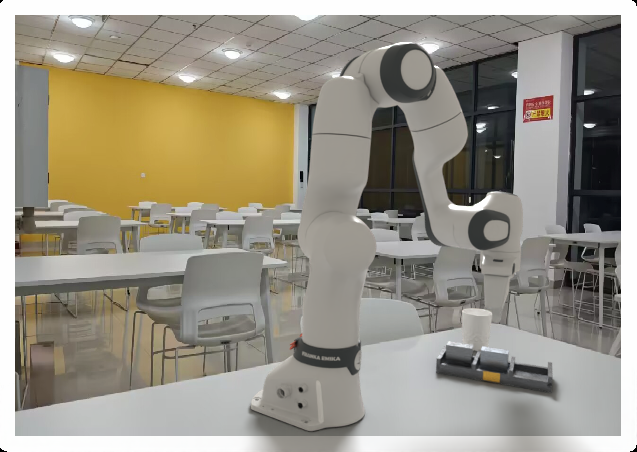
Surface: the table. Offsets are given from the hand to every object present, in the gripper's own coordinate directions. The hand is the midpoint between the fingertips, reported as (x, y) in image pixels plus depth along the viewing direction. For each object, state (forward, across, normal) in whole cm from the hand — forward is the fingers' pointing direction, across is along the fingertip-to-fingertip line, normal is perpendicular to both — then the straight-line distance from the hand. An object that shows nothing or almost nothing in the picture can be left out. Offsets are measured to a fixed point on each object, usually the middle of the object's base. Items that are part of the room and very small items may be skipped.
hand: (496, 320), depth 119 cm
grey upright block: (+12, 0, 0) cm, 12 cm away
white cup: (+13, -19, -6) cm, 24 cm away
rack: (+13, 0, 0) cm, 13 cm away
